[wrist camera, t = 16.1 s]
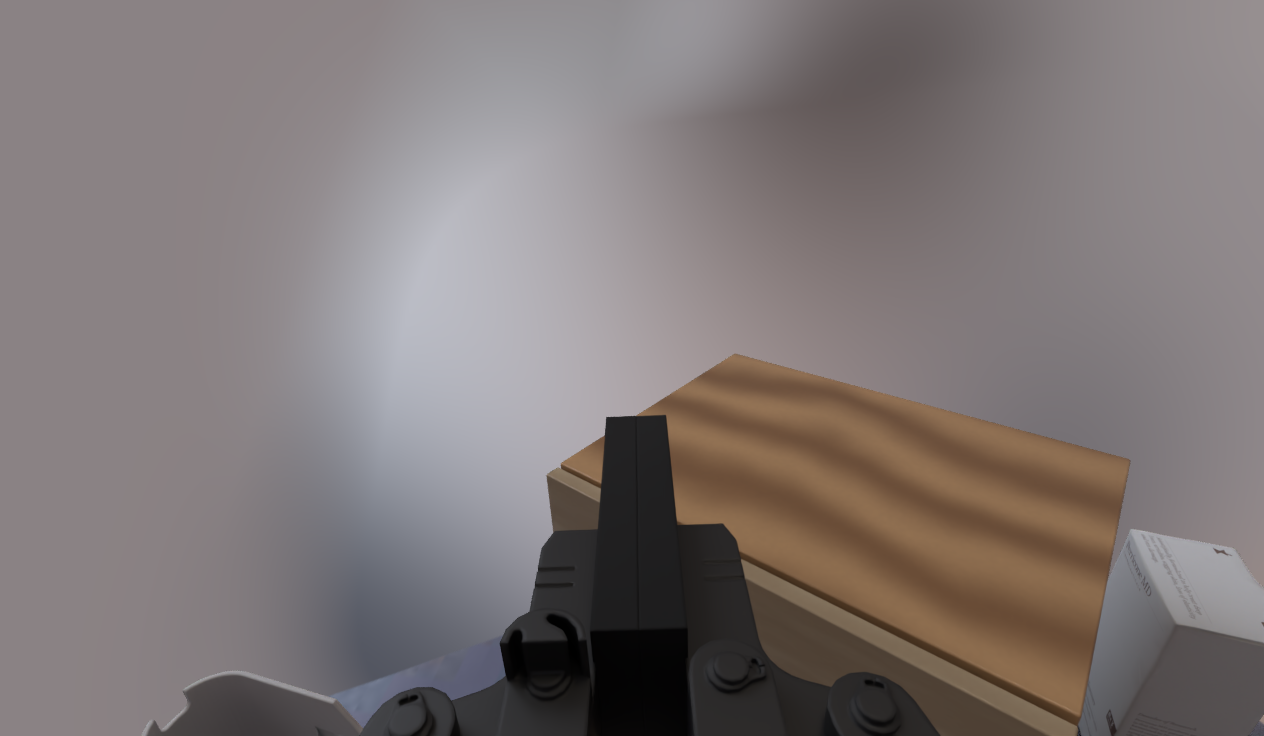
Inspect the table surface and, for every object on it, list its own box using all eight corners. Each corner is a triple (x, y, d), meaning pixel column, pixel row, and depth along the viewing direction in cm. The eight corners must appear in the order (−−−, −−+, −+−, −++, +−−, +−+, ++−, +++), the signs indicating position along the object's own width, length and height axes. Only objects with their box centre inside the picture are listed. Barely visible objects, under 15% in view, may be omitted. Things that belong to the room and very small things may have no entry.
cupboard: (947, 1043, 29) (1081, 717, 19) (589, 742, 43) (559, 463, 33) (1024, 751, 42) (1131, 459, 31) (726, 590, 56) (734, 352, 46)
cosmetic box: (1060, 678, 46) (1119, 521, 40) (1158, 701, 44) (1236, 540, 38) (1091, 787, 39) (1169, 618, 33) (1209, 821, 37) (1315, 648, 31)
